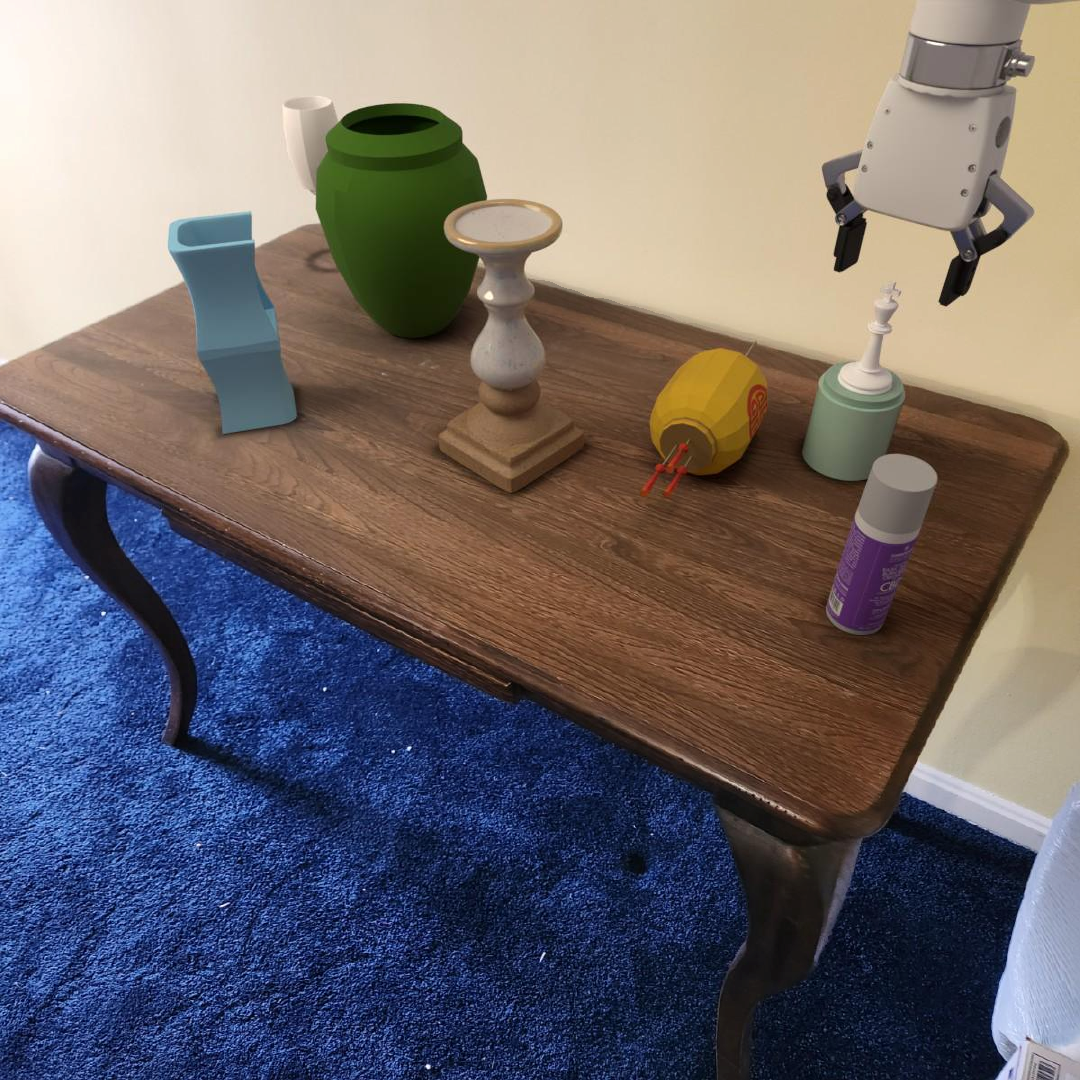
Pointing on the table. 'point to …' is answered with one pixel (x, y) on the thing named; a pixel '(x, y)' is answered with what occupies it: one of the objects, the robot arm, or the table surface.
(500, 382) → the candle holder
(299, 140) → the cup
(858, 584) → the container
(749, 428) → the lantern
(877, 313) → the chess piece
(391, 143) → the vase
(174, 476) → the table surface
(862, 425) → the upturned tumbler
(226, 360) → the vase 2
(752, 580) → the table surface
